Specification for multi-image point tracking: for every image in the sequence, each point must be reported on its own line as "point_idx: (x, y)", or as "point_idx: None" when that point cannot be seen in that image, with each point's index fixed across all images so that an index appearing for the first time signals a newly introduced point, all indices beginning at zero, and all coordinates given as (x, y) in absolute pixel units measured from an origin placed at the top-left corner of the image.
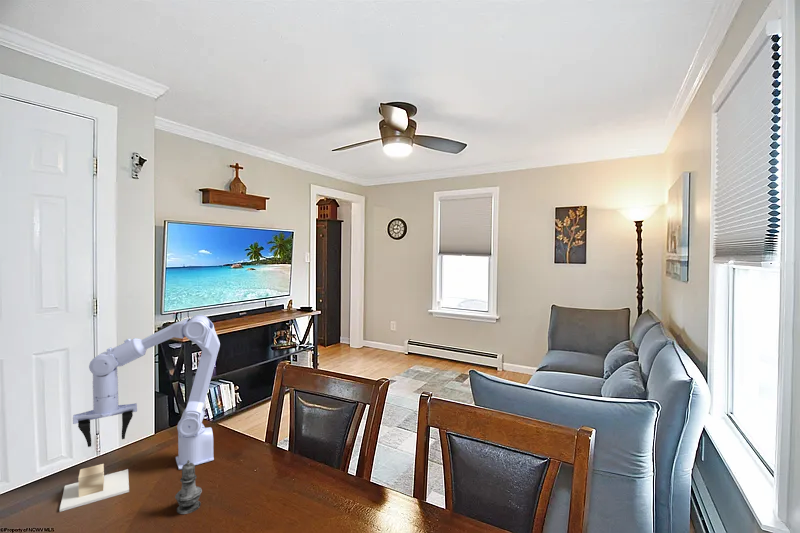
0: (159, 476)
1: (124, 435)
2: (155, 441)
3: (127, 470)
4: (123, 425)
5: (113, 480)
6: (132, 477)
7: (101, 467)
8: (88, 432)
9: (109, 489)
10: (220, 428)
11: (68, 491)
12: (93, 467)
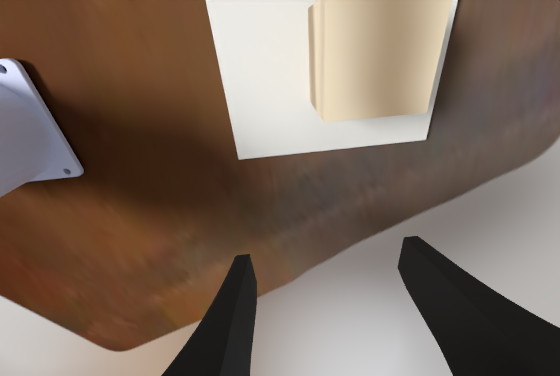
0: (97, 44)
1: (230, 270)
2: (198, 295)
3: (239, 151)
4: (218, 349)
5: (277, 91)
6: (214, 98)
7: (333, 76)
8: (505, 324)
9: (283, 4)
10: (18, 301)
11: None
12: (369, 101)
